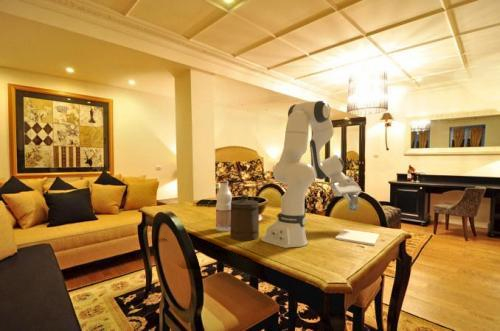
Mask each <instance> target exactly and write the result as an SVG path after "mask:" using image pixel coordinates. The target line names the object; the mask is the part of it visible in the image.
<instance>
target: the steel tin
mask: <svg viewBox="0 0 500 331" xmlns="http://www.w3.org/2000/svg"><path fill="white" fill-rule="evenodd" d="M348 196H349V197H351V199H352V200H351V201H348V210H349V211H358V210H359V200H358V197H359V195H358V196H357V195H348Z"/></svg>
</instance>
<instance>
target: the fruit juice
mask: <svg viewBox="0 0 500 331" xmlns="http://www.w3.org/2000/svg"><path fill="white" fill-rule="evenodd" d="M229 183H230V182H229V181H228V180H220V181H219V184H220V186H219V189H218V191H217V193H216V195H215V198H216V204H215V230H216V231H217V232H229V231H230V218H231V202H232V201H233V200H232V198H233V194H232V192H231V190H230V187H229Z"/></svg>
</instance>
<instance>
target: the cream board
mask: <svg viewBox="0 0 500 331" xmlns="http://www.w3.org/2000/svg"><path fill="white" fill-rule="evenodd" d="M334 237H335V238H334V239H335V240H337V241H338V240H339V241H344V242H351V243H356V244H363V245H368V246H376V244H377V241H378V240H379V237H380V234H379V233H374V232H373V233H372V232H366V231H361V230H352V229H346V228H344V229H342V230H341V231H340V232H339V233H338V234H337V235H336V236H334Z"/></svg>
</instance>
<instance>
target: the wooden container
mask: <svg viewBox="0 0 500 331" xmlns="http://www.w3.org/2000/svg"><path fill="white" fill-rule="evenodd" d="M248 198H249V196H248V195H247V194H242V195H241V199H238V200H231V218H230V232H229V233H230V238H231V239H233V240H235V241H242V242H243V241H246V242H247V241H254V240H256V239H258V238H259V237H260V236H259V234H260V233H259V232H260V231H259V229H260V226H259V225H260V222H259V201H257V200H253V199H248Z"/></svg>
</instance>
